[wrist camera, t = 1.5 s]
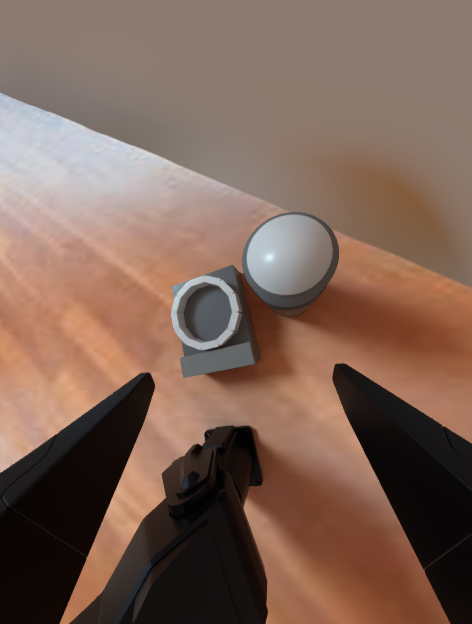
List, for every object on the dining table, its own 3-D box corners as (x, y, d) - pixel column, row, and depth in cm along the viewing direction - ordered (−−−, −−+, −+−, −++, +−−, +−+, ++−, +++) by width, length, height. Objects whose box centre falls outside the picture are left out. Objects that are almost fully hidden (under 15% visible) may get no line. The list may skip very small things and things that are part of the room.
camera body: (260, 358, 23) (253, 364, 19) (199, 370, 25) (181, 379, 21) (239, 272, 25) (228, 260, 21) (184, 291, 27) (164, 283, 23)
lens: (319, 310, 21) (358, 285, 9) (272, 322, 23) (251, 314, 11) (305, 266, 22) (324, 189, 10) (261, 280, 24) (230, 229, 12)
